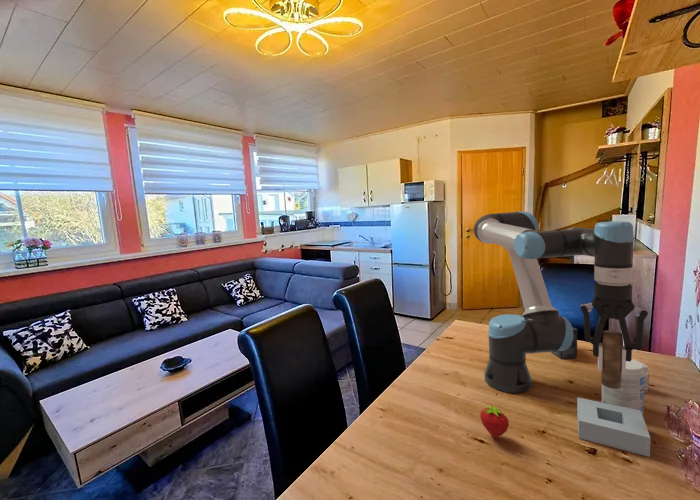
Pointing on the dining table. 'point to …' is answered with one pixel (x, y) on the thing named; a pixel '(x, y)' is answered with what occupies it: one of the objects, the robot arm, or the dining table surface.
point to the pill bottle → (646, 378)
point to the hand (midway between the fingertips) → (611, 370)
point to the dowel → (611, 359)
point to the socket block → (613, 426)
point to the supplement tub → (627, 388)
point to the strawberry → (494, 421)
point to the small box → (572, 350)
